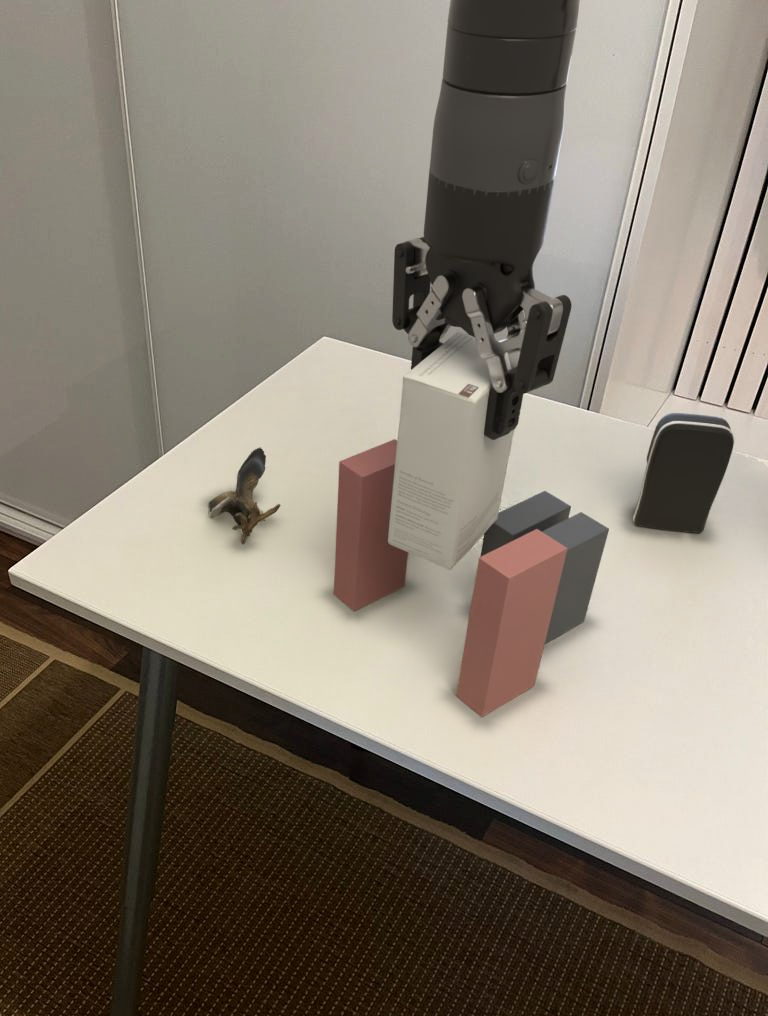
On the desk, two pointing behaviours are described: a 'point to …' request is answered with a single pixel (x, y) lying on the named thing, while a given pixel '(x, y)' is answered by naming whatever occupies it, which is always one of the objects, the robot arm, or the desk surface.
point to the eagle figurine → (244, 496)
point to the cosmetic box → (446, 456)
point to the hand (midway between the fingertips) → (459, 413)
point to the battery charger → (683, 471)
